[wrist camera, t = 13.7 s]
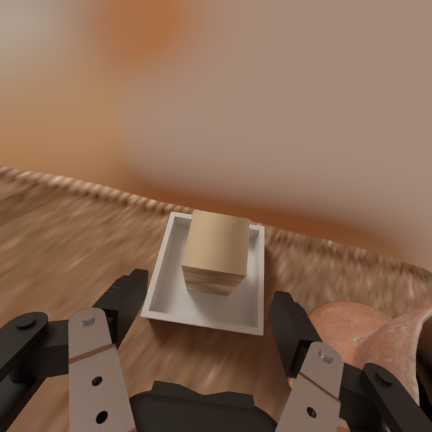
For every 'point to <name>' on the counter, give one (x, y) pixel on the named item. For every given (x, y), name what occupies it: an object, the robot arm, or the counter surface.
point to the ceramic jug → (380, 344)
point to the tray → (201, 301)
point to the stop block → (215, 253)
